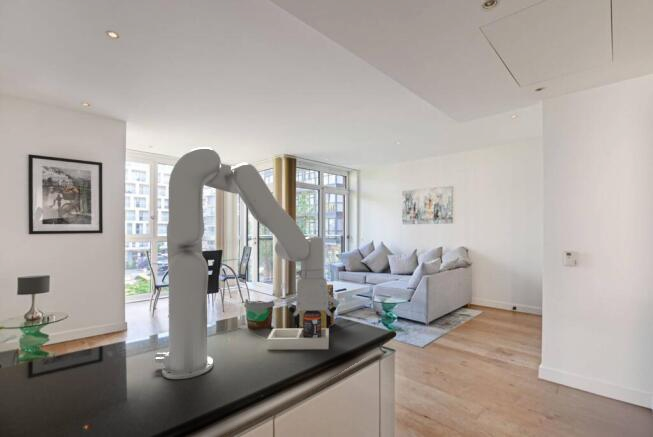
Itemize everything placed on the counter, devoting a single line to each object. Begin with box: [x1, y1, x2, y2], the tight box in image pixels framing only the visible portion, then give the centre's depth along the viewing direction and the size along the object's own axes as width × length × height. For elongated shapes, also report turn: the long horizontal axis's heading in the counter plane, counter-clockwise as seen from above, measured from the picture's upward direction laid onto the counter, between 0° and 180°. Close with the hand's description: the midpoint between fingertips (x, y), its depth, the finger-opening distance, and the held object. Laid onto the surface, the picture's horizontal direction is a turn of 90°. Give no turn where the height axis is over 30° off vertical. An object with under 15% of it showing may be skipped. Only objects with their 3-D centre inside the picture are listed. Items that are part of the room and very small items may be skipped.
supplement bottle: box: [302, 311, 322, 338], centre depth 101 cm, size 6×6×11 cm
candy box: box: [319, 283, 336, 328], centre depth 118 cm, size 9×4×15 cm, turn 155°
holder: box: [266, 327, 330, 350], centre depth 101 cm, size 19×10×3 cm, turn 89°
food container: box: [243, 298, 276, 331], centre depth 118 cm, size 12×6×10 cm, turn 73°
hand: (312, 327), depth 101 cm, fingers open, 9 cm apart
